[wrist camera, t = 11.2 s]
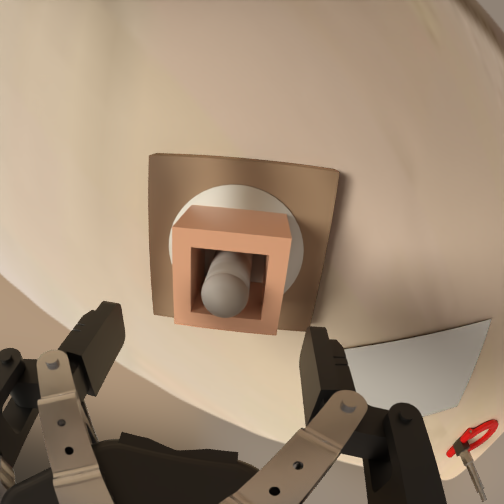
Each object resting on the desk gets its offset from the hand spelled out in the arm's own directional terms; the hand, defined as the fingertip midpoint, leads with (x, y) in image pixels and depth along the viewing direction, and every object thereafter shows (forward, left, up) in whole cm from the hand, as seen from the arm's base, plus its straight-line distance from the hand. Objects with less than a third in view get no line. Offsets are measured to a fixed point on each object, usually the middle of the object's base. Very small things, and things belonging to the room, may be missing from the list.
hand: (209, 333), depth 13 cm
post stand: (0, 0, -10) cm, 10 cm away
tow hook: (+40, -29, -11) cm, 51 cm away
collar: (0, 0, -9) cm, 9 cm away
